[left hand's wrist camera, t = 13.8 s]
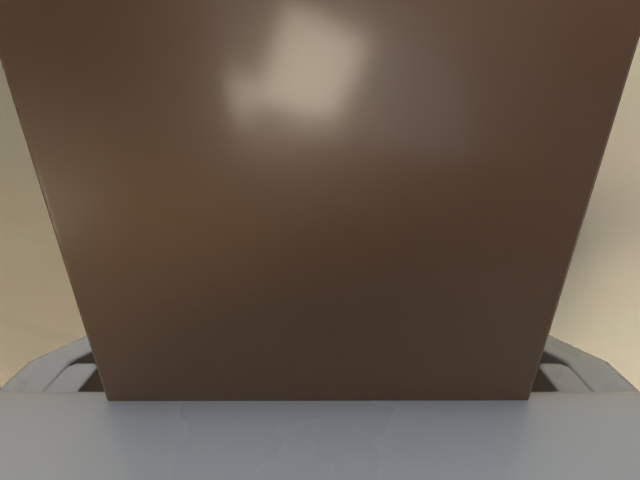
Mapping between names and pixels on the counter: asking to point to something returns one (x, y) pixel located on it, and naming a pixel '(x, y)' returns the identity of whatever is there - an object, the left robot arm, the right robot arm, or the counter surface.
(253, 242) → the box
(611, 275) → the counter surface
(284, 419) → the left robot arm
